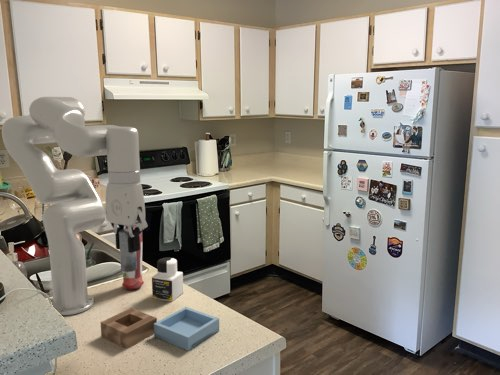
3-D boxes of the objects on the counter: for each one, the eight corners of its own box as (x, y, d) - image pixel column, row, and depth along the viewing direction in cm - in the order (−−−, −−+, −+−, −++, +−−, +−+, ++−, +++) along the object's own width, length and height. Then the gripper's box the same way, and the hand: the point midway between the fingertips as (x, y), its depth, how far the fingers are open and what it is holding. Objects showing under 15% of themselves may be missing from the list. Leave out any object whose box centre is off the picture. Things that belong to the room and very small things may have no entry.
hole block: (101, 336, 115) (100, 322, 114) (131, 321, 123) (131, 308, 122) (127, 348, 109) (126, 333, 109) (157, 331, 117) (156, 317, 117)
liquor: (149, 286, 146) (145, 203, 141) (130, 293, 141) (126, 207, 136) (135, 281, 151) (132, 200, 146) (117, 287, 146) (112, 204, 140)
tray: (154, 336, 115) (153, 323, 115) (185, 318, 125) (185, 306, 124) (188, 350, 108) (188, 337, 108) (219, 330, 118) (219, 318, 118)
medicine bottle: (152, 298, 138) (150, 261, 135) (164, 289, 144) (162, 254, 142) (172, 302, 135) (171, 264, 133) (183, 292, 142) (182, 257, 140)
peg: (117, 269, 112) (115, 231, 111) (130, 265, 116) (128, 227, 114) (127, 273, 110) (125, 234, 108) (140, 268, 113) (138, 230, 111)
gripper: (90, 176, 110) (94, 247, 114) (135, 183, 101) (138, 260, 104) (115, 173, 116) (118, 240, 120) (159, 179, 107) (162, 251, 110)
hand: (128, 248), depth 112 cm, fingers closed on peg, 4 cm apart
